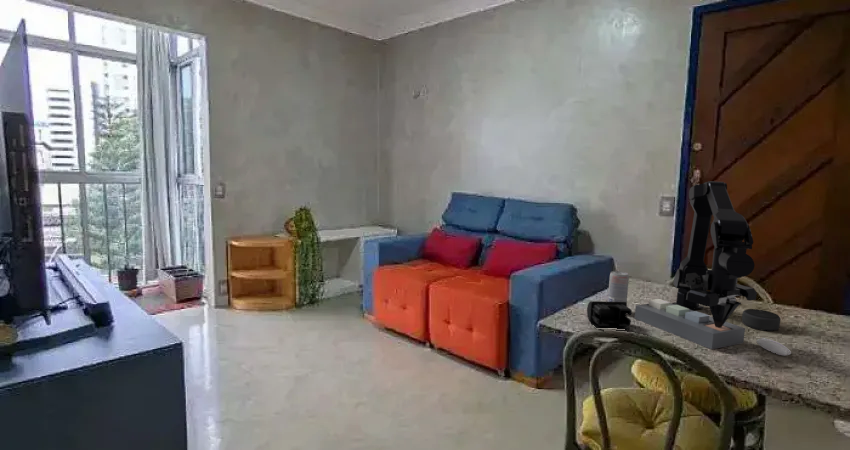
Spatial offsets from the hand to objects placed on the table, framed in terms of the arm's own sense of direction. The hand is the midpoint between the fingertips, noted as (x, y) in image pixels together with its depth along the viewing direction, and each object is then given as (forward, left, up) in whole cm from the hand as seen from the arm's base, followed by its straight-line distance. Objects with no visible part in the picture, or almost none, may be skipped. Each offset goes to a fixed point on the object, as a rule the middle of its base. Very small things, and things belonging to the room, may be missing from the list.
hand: (718, 327), depth 123 cm
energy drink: (+6, -28, -4) cm, 29 cm away
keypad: (0, -9, -4) cm, 10 cm away
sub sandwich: (-8, +9, -4) cm, 13 cm away
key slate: (0, -6, -1) cm, 6 cm away
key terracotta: (0, 0, -3) cm, 3 cm away
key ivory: (0, -18, -1) cm, 18 cm away
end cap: (+18, -19, -4) cm, 27 cm away
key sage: (0, -12, -1) cm, 12 cm away
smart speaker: (-24, -4, -4) cm, 25 cm away
